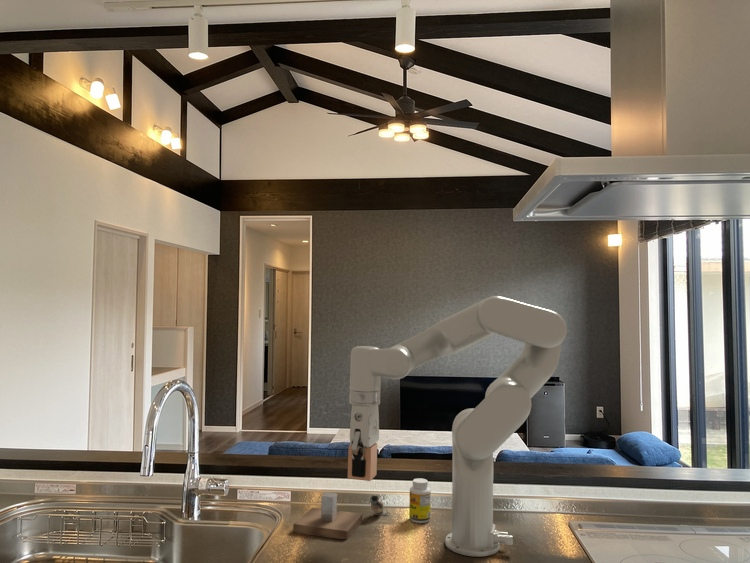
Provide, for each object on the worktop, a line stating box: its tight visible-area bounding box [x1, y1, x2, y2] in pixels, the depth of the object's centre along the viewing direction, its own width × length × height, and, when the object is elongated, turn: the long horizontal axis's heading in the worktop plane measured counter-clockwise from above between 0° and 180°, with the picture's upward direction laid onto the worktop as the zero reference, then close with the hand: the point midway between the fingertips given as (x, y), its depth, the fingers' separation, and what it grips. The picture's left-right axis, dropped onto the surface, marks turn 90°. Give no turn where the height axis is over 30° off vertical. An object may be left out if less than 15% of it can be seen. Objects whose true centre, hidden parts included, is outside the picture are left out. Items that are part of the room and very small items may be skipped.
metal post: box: [320, 491, 338, 521], centre depth 140 cm, size 3×3×6 cm
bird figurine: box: [369, 495, 391, 517], centre depth 147 cm, size 5×5×6 cm
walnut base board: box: [292, 507, 363, 540], centre depth 140 cm, size 14×12×2 cm
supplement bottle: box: [408, 478, 432, 524], centre depth 145 cm, size 6×6×10 cm
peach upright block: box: [347, 442, 378, 482], centre depth 134 cm, size 6×6×8 cm
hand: (362, 472), depth 133 cm, fingers closed on peach upright block, 5 cm apart
